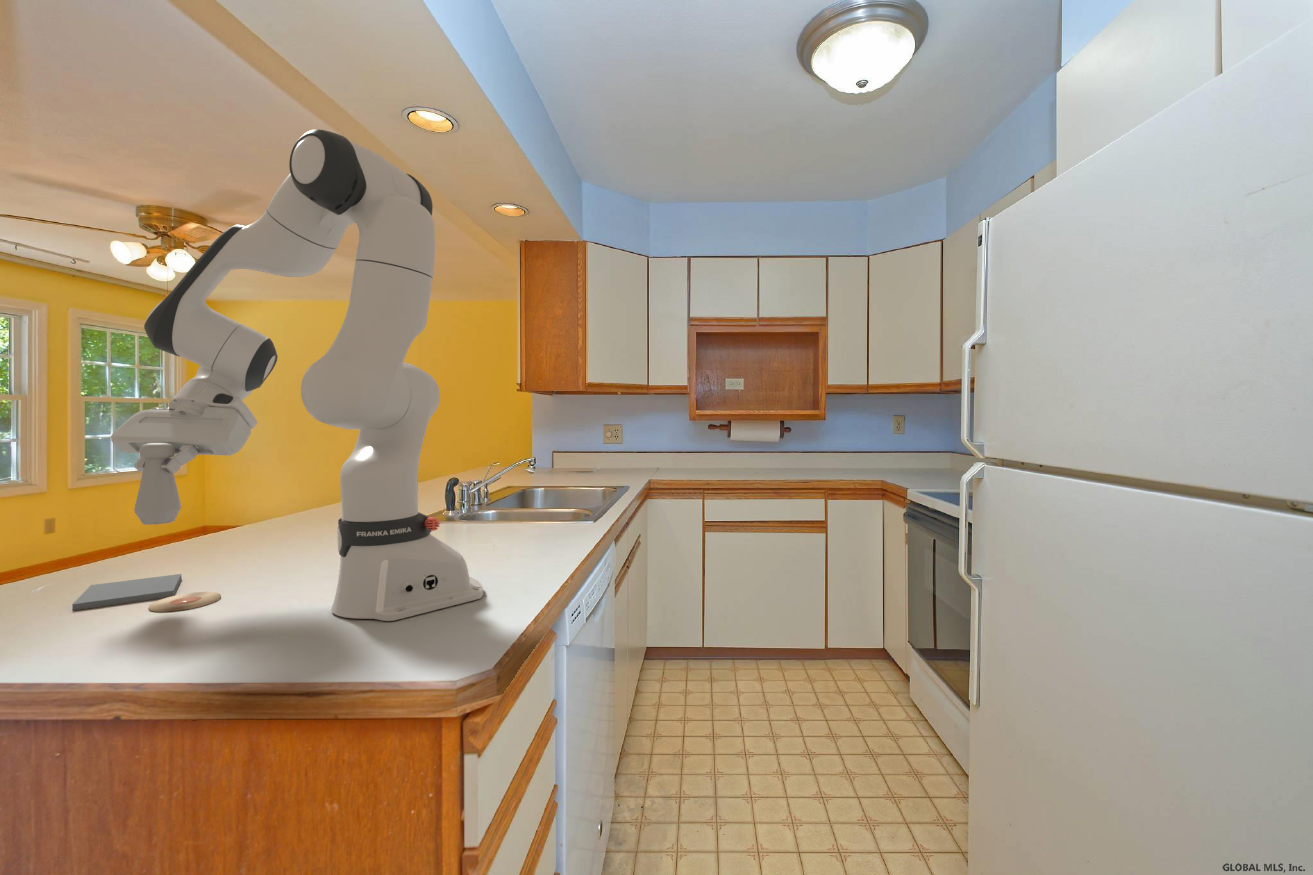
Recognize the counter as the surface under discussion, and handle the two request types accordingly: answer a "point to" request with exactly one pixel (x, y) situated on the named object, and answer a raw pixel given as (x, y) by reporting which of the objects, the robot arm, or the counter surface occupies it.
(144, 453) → the salt shaker
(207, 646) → the counter surface
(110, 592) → the mat
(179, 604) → the coaster
